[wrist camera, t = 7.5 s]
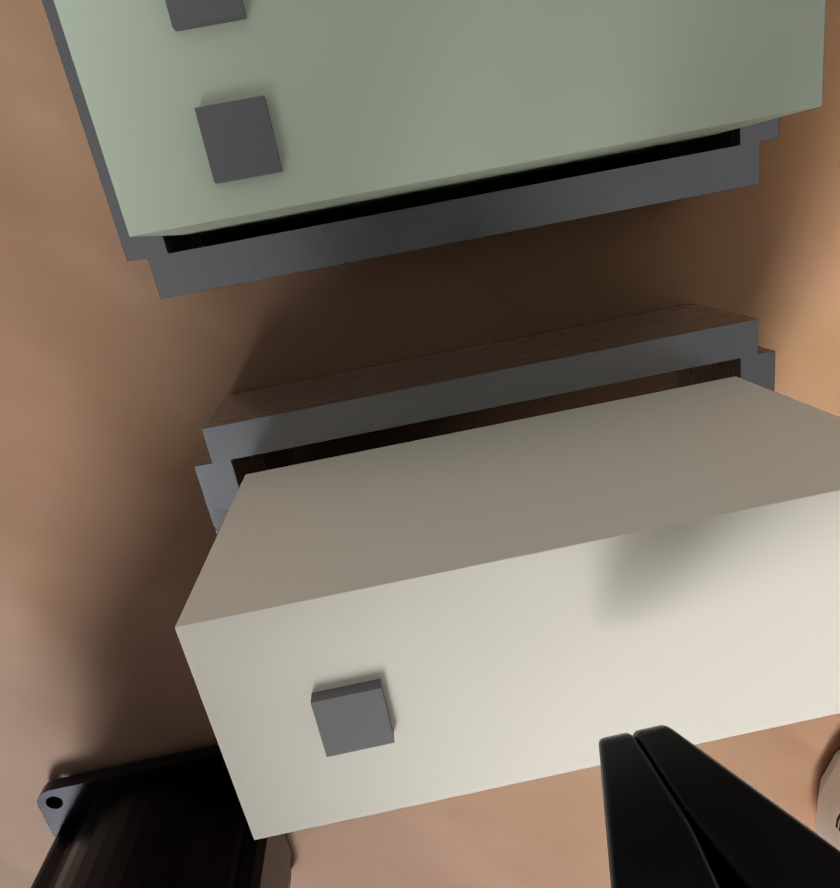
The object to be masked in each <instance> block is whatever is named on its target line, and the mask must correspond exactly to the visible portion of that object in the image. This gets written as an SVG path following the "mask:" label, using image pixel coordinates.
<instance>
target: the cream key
mask: <svg viewBox="0 0 840 888" xmlns="http://www.w3.org/2000/svg"><path fill="white" fill-rule="evenodd" d="M175 630H176V632H177V635H178V638H179V640H180V643H181V646H182V648H183V651H184V654H185V656H186V659H187V662H188V664H189V667H190V670H191V672H192V675H193V678H194V681H195V683H196V686H197V689H198V691H199V694H200V697H201V699H202V702H203V705H204V707H205V710H206V713H207V715H208V718H209V721H210V723H211V726H212V729H213V731H214V734H215V737H216V739H217V742H218V745H219V747H220V750H221V753H222V755H223V758H224V761H225V763H226V766H227V769H228V771H229V774H230V777H231V779H232V782H233V785H234V787H235V790H236V793H237V795H238V798H239V801H240V803H241V806H242V809H243V811H244V814H245V817H246V819H247V822H248V825H249V827H250V830H251V833H252V835H253V838H254V840H257V839H262V838H266V837H271V836H276V835H280V834H285V833H289V832H294V831H299V830H303V829H308V828H312V827H317V826H322V825H326V824H331V823H336V822H340V821H345V820H349V819H354V818H359V817H363V816H368V815H372V814H377V813H382V812H386V811H391V810H395V809H400V808H405V807H409V806H414V805H418V804H423V803H428V802H432V801H437V800H441V799H446V798H451V797H455V796H460V795H465V794H469V793H474V792H478V791H483V790H488V789H492V788H497V787H501V786H506V785H511V784H515V783H520V782H524V781H529V780H534V779H538V778H543V777H547V776H552V775H557V774H561V773H566V772H570V771H575V770H580V769H584V768H589V767H594V766H598V765H600V755H599V740H600V739H601V738H604V737H608V736H613V735H618V734H622V733H629V734H631V735H633V733H634V732H635V731H637V730H640V729H645V728H649V727H654V726H658V725H665V726H668V727H670V728H672V729H673V730H674V731H676V732H677V733H679V734H680V735H681V736H683V737H684V738H685V739H687V740H688V741H690V742H691V743H692V744H694V745H695V744H699V743H704V742H709V741H713V740H718V739H723V738H727V737H732V736H736V735H741V734H746V733H750V732H755V731H759V730H764V729H769V728H773V727H778V726H782V725H787V724H792V723H796V722H801V721H805V720H810V719H815V718H819V717H824V716H828V715H833V714H838V713H840V417H838V416H835V415H833V414H830V413H827V412H825V411H822V410H820V409H817V408H815V407H812V406H810V405H807V404H805V403H802V402H799V401H797V400H794V399H792V398H789V397H787V396H784V395H782V394H779V393H777V392H774V391H771V390H769V389H766V388H764V387H761V386H759V385H756V384H754V383H751V382H749V381H746V380H744V379H741V378H738V377H736V376H735V377H730V378H725V379H720V380H715V381H710V382H705V383H700V384H695V385H690V386H685V387H680V388H675V389H670V390H665V391H660V392H655V393H650V394H645V395H640V396H635V397H630V398H625V399H620V400H615V401H610V402H605V403H600V404H595V405H590V406H585V407H580V408H575V409H570V410H565V411H560V412H555V413H550V414H545V415H540V416H535V417H530V418H525V419H520V420H515V421H510V422H505V423H500V424H495V425H490V426H485V427H480V428H475V429H470V430H465V431H460V432H455V433H450V434H445V435H440V436H435V437H430V438H425V439H420V440H415V441H411V442H406V443H401V444H396V445H391V446H386V447H381V448H376V449H371V450H366V451H361V452H356V453H351V454H346V455H341V456H336V457H331V458H326V459H321V460H316V461H311V462H306V463H301V464H296V465H291V466H286V467H281V468H276V469H271V470H266V471H261V472H256V473H251V474H246V475H245V477H244V479H243V481H242V483H241V485H240V487H239V490H238V492H237V494H236V496H235V498H234V500H233V503H232V505H231V507H230V509H229V511H228V513H227V515H226V518H225V520H224V522H223V524H222V526H221V528H220V531H219V533H218V535H217V537H216V539H215V541H214V544H213V546H212V548H211V550H210V552H209V554H208V557H207V559H206V561H205V563H204V565H203V567H202V570H201V572H200V574H199V576H198V578H197V580H196V583H195V585H194V587H193V589H192V591H191V593H190V596H189V598H188V600H187V602H186V604H185V606H184V609H183V611H182V613H181V615H180V617H179V619H178V622H177V624H176V626H175Z"/></svg>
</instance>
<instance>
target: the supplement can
mask: <svg viewBox="0 0 840 888" xmlns="http://www.w3.org/2000/svg"><path fill="white" fill-rule="evenodd" d="M815 828H816V831H817V833H818V835H819V836H821V837H822V838H823V839H825V840H826V841H827V842H829V843H830V844H832V845H833V846H834V847H836V848H837V849H838V850H840V749H839V750H838V751H837V752H836V753H835V754H834V756H833V758H832V760H831V762H830V763H829V765H828V767H827V769H826V771H825V772H824V774H823V776H822V778H821V780H820V787H819V794H818V801H817V813H816V820H815Z"/></svg>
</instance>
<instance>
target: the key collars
mask: <svg viewBox="0 0 840 888" xmlns="http://www.w3.org/2000/svg"><path fill="white" fill-rule="evenodd" d="M42 2H43V5H44V8H45V11H46V14H47V17H48V20H49V23H50V26H51V30H52V33H53V36H54V39H55V42H56V45H57V48H58V51H59V54H60V57H61V60H62V63H63V66H64V69H65V72H66V75H67V79H68V82H69V85H70V88H71V91H72V94H73V97H74V100H75V103H76V106H77V109H78V112H79V115H80V118H81V121H82V124H83V127H84V131H85V134H86V137H87V140H88V143H89V146H90V149H91V152H92V155H93V158H94V161H95V164H96V167H97V170H98V173H99V176H100V179H101V183H102V186H103V189H104V192H105V195H106V198H107V201H108V204H109V207H110V210H111V213H112V216H113V219H114V222H115V225H116V228H117V232H118V235H119V238H120V241H121V244H122V247H123V250H124V253H125V256H126V259H127V262H128V261H135V260H142V259H148V260H149V264H150V267H151V270H152V273H153V276H154V279H155V283H156V286H157V289H158V292H159V295H160V298H161V299H162V298H167V297H172V296H177V295H183V294H188V293H193V292H198V291H204V290H209V289H214V288H219V287H224V286H230V285H235V284H240V283H245V282H250V281H256V280H261V279H266V278H271V277H277V276H282V275H287V274H292V273H297V272H303V271H308V270H313V269H318V268H323V267H329V266H334V265H339V264H344V263H350V262H355V261H360V260H365V259H370V258H376V257H381V256H386V255H391V254H397V253H402V252H407V251H412V250H417V249H423V248H428V247H433V246H438V245H443V244H449V243H454V242H459V241H464V240H470V239H475V238H480V237H485V236H490V235H496V234H501V233H506V232H511V231H516V230H522V229H527V228H532V227H537V226H543V225H548V224H553V223H558V222H563V221H569V220H574V219H579V218H584V217H590V216H595V215H600V214H605V213H610V212H616V211H621V210H626V209H631V208H636V207H642V206H647V205H652V204H657V203H663V202H668V201H673V200H678V199H683V198H689V197H694V196H699V195H704V194H709V193H715V192H720V191H725V190H730V189H736V188H741V187H746V186H751V185H756V184H759V142H762V141H767V140H771V139H776V138H779V118H775V119H772V120H768V121H764V122H760V123H756V124H753V125H749V126H745V127H741V128H738V129H734V130H730V131H726V132H722V133H719V134H715V135H711V136H707V137H703V138H700V139H696V140H692V141H688V142H684V143H681V144H677V145H673V146H670V159H665V160H660V161H655V162H649V163H644V164H639V165H633V166H628V167H623V168H618V169H612V170H607V171H602V172H597V173H591V174H586V175H581V176H575V177H570V178H565V179H560V180H554V181H549V182H544V183H539V184H533V185H528V186H523V187H517V188H512V189H507V190H502V191H496V192H491V193H486V194H481V195H475V196H470V197H465V198H460V199H454V200H449V201H444V202H438V203H433V204H428V205H423V206H417V207H412V208H407V209H402V210H396V211H391V212H386V213H380V214H375V215H370V216H365V217H359V218H354V219H349V220H344V221H338V222H333V223H328V224H322V225H317V226H312V227H307V228H301V229H296V230H291V231H286V232H280V233H275V234H270V235H265V236H259V237H254V238H249V239H243V240H238V241H233V242H228V243H222V244H217V245H212V246H207V247H203V244H202V241H201V237H200V234H193V235H166V236H139V237H129V233H128V230H127V227H126V224H125V221H124V218H123V215H122V212H121V209H120V205H119V202H118V199H117V196H116V193H115V190H114V187H113V184H112V181H111V177H110V174H109V171H108V168H107V165H106V162H105V159H104V156H103V153H102V149H101V146H100V143H99V140H98V137H97V134H96V131H95V128H94V125H93V121H92V118H91V115H90V112H89V109H88V106H87V103H86V100H85V97H84V93H83V90H82V87H81V84H80V81H79V78H78V75H77V72H76V69H75V65H74V62H73V59H72V56H71V53H70V50H69V47H68V44H67V41H66V37H65V34H64V31H63V28H62V25H61V22H60V19H59V16H58V13H57V9H56V6H55V3H54V0H42ZM673 371H678V385H679V388H680V387H685V386H690V385H695V384H700V383H705V382H710V381H715V380H720V379H725V378H730V377H735V376H736V377H738V378H741V379H744V380H746V381H749V382H751V383H754V384H756V385H759V386H761V387H764V388H766V389H769V390H771V391H774V385H775V351H773V350H770V349H766V348H763V347H759V346H758V319H755V318H751V317H746V316H742V315H737V314H733V313H729V312H724V311H720V310H715V309H711V308H707V307H702V306H698V305H693V304H686V305H681V306H676V307H671V308H666V309H661V310H656V311H651V312H646V313H641V314H635V315H630V316H625V317H620V318H615V319H610V320H605V321H600V322H595V323H590V324H585V325H580V326H574V327H569V328H564V329H559V330H554V331H549V332H544V333H539V334H534V335H529V336H524V337H519V338H513V339H508V340H503V341H498V342H493V343H488V344H483V345H478V346H473V347H468V348H463V349H458V350H452V351H447V352H442V353H437V354H432V355H427V356H422V357H417V358H412V359H407V360H402V361H396V362H391V363H386V364H381V365H376V366H371V367H366V368H361V369H356V370H351V371H346V372H341V373H335V374H330V375H325V376H320V377H315V378H310V379H305V380H300V381H295V382H290V383H285V384H280V385H274V386H269V387H264V388H259V389H254V390H249V391H244V392H239V393H234V394H229V395H228V397H227V398H226V399H225V400H224V402H223V403H222V404H221V405H220V407H219V408H218V409H217V411H216V412H215V413H214V414H213V416H212V417H211V418H210V420H209V421H208V422H207V423H206V425H205V426H204V427H203V428H202V432H203V435H204V438H205V441H206V444H207V450H206V451H205V452H204V454H203V455H202V457H201V458H200V460H199V461H198V463H197V464H196V465H195V470H196V473H197V476H198V479H199V482H200V485H201V489H202V492H203V495H204V498H205V501H206V504H207V507H208V510H209V513H210V516H211V519H212V522H213V525H214V528H215V531H216V534H217V535H218V533H219V531H220V528H221V526H222V524H223V522H224V520H225V518H226V515H227V513H228V511H229V509H230V507H231V505H232V503H233V500H234V498H235V496H236V494H237V492H238V490H239V487H240V485H241V483H242V481H243V479H244V477H245V475H246V474H251V473H256V472H261V471H266V470H267V469H266V466H265V462H264V459H263V455H262V453H267V452H272V451H277V450H282V449H287V448H292V447H297V446H302V445H307V444H312V443H317V442H322V441H327V440H332V439H337V438H342V437H347V436H352V435H357V434H362V433H367V432H372V431H377V430H382V429H387V428H392V427H397V426H402V425H407V424H412V423H417V422H422V421H427V420H432V419H437V418H442V417H447V416H452V415H458V414H463V413H468V412H473V411H478V410H483V409H488V408H493V407H498V406H503V405H508V404H513V403H518V402H523V401H528V400H533V399H538V398H543V397H548V396H553V395H558V394H563V393H568V392H573V391H578V390H583V389H588V388H593V387H598V386H603V385H608V384H613V383H618V382H623V381H628V380H633V379H638V378H643V377H648V376H653V375H658V374H663V373H668V372H673Z"/></svg>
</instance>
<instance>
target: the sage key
mask: <svg viewBox="0 0 840 888" xmlns="http://www.w3.org/2000/svg"><path fill="white" fill-rule="evenodd" d="M54 3H55V6H56V9H57V13H58V16H59V19H60V22H61V25H62V28H63V31H64V34H65V37H66V41H67V44H68V47H69V50H70V53H71V56H72V59H73V62H74V65H75V69H76V72H77V75H78V78H79V81H80V84H81V87H82V90H83V93H84V97H85V100H86V103H87V106H88V109H89V112H90V115H91V118H92V121H93V125H94V128H95V131H96V134H97V137H98V140H99V143H100V146H101V149H102V153H103V156H104V159H105V162H106V165H107V168H108V171H109V174H110V177H111V181H112V184H113V187H114V190H115V193H116V196H117V199H118V202H119V205H120V209H121V212H122V215H123V218H124V221H125V224H126V227H127V230H128V233H129V237H139V236H166V235H193V234H212V233H218V232H223V231H228V230H234V229H239V228H244V227H249V226H255V225H260V224H265V223H271V222H276V221H281V220H286V219H292V218H297V217H302V216H308V215H313V214H318V213H323V212H329V211H334V210H339V209H344V208H350V207H355V206H360V205H366V204H371V203H376V202H381V201H387V200H392V199H397V198H403V197H408V196H413V195H418V194H424V193H429V192H434V191H440V190H445V189H450V188H455V187H461V186H466V185H471V184H477V183H482V182H487V181H492V180H498V179H503V178H508V177H514V176H519V175H524V174H529V173H535V172H540V171H545V170H551V169H556V168H561V167H566V166H572V165H577V164H582V163H588V162H593V161H598V160H603V159H609V158H614V157H619V156H625V155H630V154H635V153H640V152H646V151H651V150H656V149H662V148H666V147H669V146H673V145H677V144H681V143H684V142H688V141H692V140H696V139H700V138H703V137H707V136H711V135H715V134H719V133H722V132H726V131H730V130H734V129H738V128H741V127H745V126H749V125H753V124H756V123H760V122H764V121H768V120H772V119H775V118H779V117H783V116H787V115H791V114H794V113H798V112H802V111H806V110H809V109H813V108H817V107H821V106H822V84H823V57H824V31H825V4H826V0H54Z"/></svg>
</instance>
